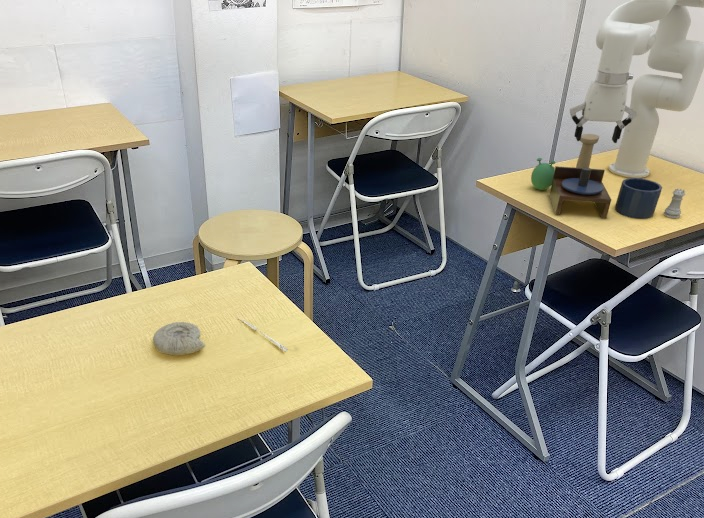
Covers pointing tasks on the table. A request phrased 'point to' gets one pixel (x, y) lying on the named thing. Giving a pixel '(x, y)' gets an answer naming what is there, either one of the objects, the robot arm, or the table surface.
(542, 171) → the alien toy
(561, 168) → the shelf
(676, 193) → the rook chess piece
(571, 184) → the lid
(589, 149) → the handle
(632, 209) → the pot
